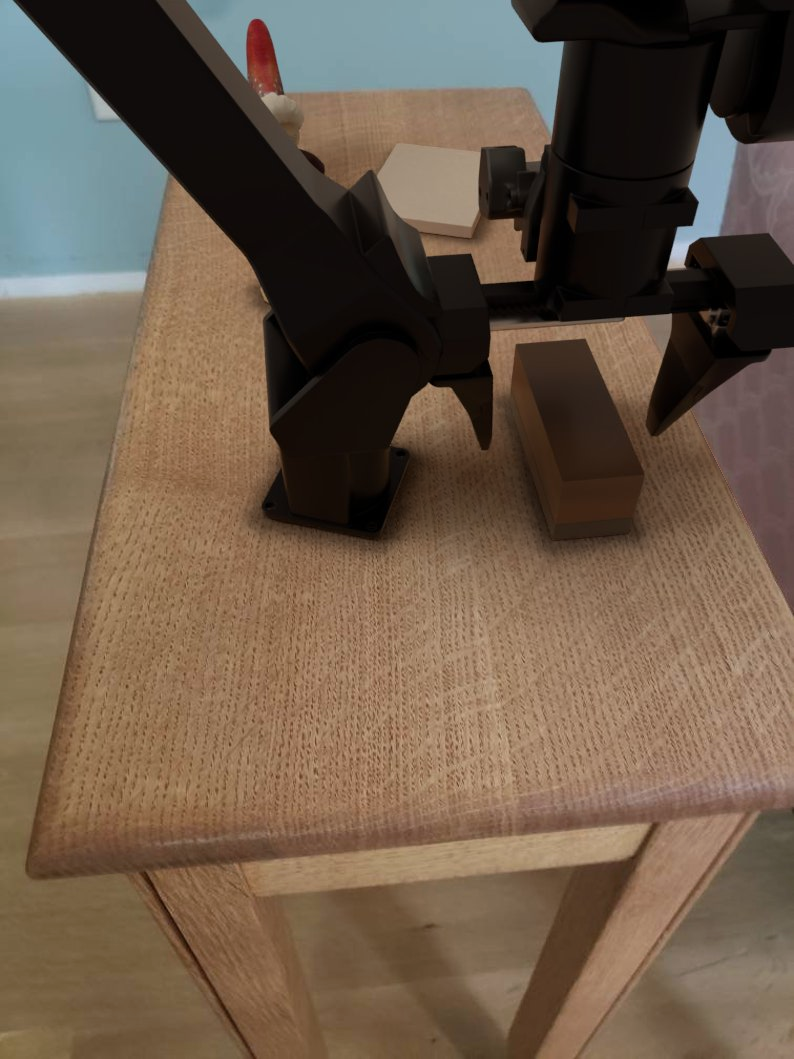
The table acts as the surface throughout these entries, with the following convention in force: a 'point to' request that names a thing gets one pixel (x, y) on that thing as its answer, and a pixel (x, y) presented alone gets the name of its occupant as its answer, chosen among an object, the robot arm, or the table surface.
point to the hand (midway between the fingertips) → (567, 438)
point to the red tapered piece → (262, 60)
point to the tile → (433, 188)
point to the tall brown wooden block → (574, 440)
